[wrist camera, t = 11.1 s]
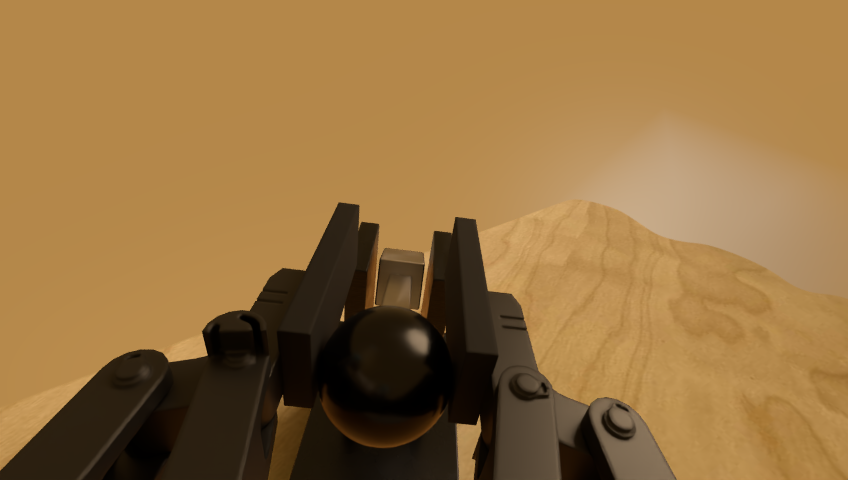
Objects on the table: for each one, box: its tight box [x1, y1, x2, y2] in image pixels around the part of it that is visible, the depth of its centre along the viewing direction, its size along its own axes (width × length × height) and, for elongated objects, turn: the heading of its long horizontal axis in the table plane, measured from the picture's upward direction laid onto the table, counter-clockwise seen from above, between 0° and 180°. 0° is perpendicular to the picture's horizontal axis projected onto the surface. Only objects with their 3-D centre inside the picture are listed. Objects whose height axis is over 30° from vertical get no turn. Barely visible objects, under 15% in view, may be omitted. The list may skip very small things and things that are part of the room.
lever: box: [317, 248, 453, 448], centre depth 15 cm, size 13×4×4 cm, turn 179°
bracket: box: [289, 222, 459, 480], centre depth 23 cm, size 12×9×13 cm
